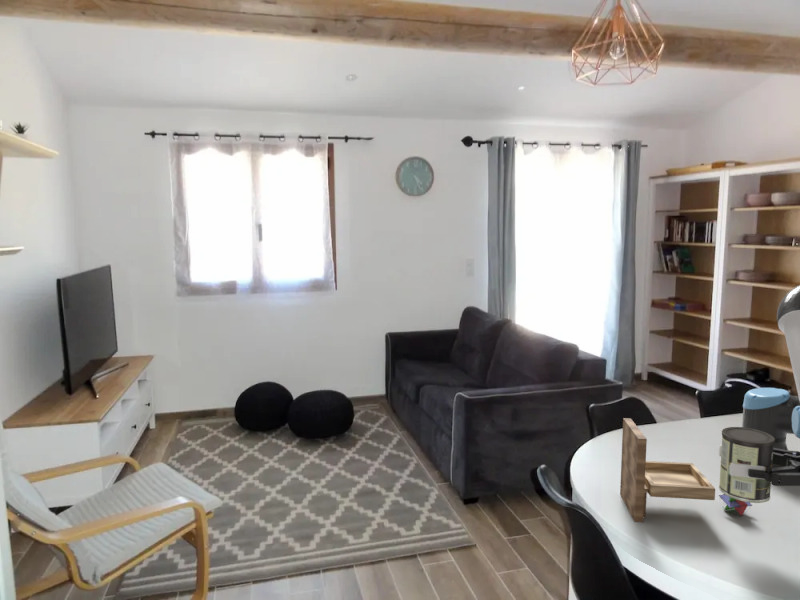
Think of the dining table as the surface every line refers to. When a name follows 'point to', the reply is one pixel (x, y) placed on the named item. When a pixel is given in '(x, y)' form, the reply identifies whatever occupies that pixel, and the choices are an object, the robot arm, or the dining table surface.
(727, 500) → the geometric puzzle
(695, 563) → the dining table surface
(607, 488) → the dining table surface
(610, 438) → the dining table surface
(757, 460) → the coffee can
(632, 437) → the bracket
